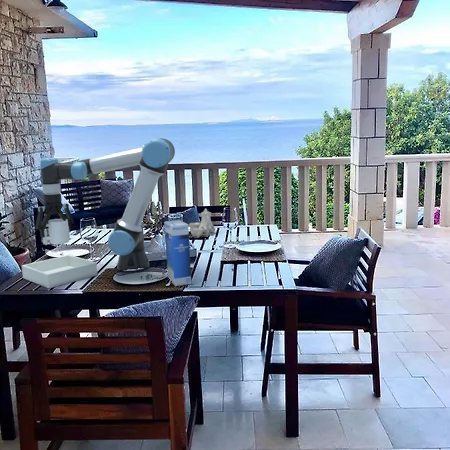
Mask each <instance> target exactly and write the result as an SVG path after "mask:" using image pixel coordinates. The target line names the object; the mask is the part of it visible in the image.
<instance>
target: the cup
mask: <svg viewBox="0 0 450 450" xmlns="http://www.w3.org/2000/svg"><path fill="white" fill-rule="evenodd" d="M67 219H68V218H67ZM67 219H66V221H64V220H62V219H61V218H54V219H49V220H48V222H47V225H46V227H45V228H47V227H48V232H49V233H48V234H49V235H48V236H47V241H49V243H50V244H51V245H64V244H67V243H70V240H69V234H70V233H69V231H68V220H67Z"/></svg>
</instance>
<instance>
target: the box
mask: <svg viewBox="0 0 450 450" xmlns="http://www.w3.org/2000/svg"><path fill="white" fill-rule="evenodd" d="M21 271H22V279H25V280H26V281H29V282H32V283H35V284H37V285H39V286H42V287H45V288H47V289H51V288H55V287H59V286H62V285H66V284H71V283H74V282H77V281H81V280H85V279H88V278H92V277H96V276H98V263H97V261H92V260H89V259H86V258H82V257H78V256H75V255H71V254H66V255H63V256H59V257H58V256H57V257H53V258H49V259H44V260H41V261H36V262H31V263H28V264H27V263H26V264H21Z"/></svg>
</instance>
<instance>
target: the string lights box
mask: <svg viewBox="0 0 450 450" xmlns="http://www.w3.org/2000/svg"><path fill="white" fill-rule="evenodd" d="M188 224H189V223H186V222H184V221H183V220H182V219H177V220H176V219H175V220H166V221H164V237H165V238H164V239H165V250H166V251H165V253H166V254H165V255H166V266H167V269H166V270H167V279H168V278H169V279H170V280H171V281H172V282H171V281H170V280H169V279H168V280H169V281H170V282H171V283H172V285H174V286H175V287H178V286H185V285H186V286H187V285H190V284H192V272H191V269H192V268H191V251H190V234H189V231H190V228H189V225H188Z"/></svg>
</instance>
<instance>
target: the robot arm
mask: <svg viewBox="0 0 450 450" xmlns="http://www.w3.org/2000/svg"><path fill="white" fill-rule="evenodd" d="M175 149H176V148H175V146H174V144H173V143H172V141H170V140H168V139H167V138H152V139H150V140H148V141H147V142H146V143H144V144H143V145H142V146H141V147H136V148H132V149H127V150H123V151H119V152H114V153H113V152H112V153H109V154H104V155H100V156H96V157H91V158H86V159H80V160H76V161H75V160H74V161H70V162H69V161H68V162H59V159H58V158H57V157H47V158H41V159H40V161H39V162H40V164H39V165H40V167H39V169H40V175H41V184H42V186H41V187H42V193H43V206H38V207H37V217H36V222H35V228H34V229H36V230H39V233H40V237H41V238H42V244H43V245H45V246H47V245H49V244H48V243H49V242H48V240H47V237H48V233H47V230H46V228H47V227H46V225H47V224H48V221H49V220H50V218H51V216H52V215H58V216H59V217H60V219H62V220H64V221H66V219H67V220H68V231H69V241H71V237H70V235H71V234H70V233H72V225H74V224H75V221H74V218H73V215H72V212H71V210H70V204H69V203H65V202H64V203H63V200H62V193H61V191H62V189H61V188H62V187H61V181H62V180H77V181H78V180H84V179H86V178H87V176H93V175H97V174H101V173H102V174H103V173H106V172H111V171H117V170H121V169H127V168H129V167H135V166H139V167H140V171H139V173H138V176H137V179H136V181H135V184H134V186H133V189H132V192H131V193H130V197H129V199H128V202H127V204H126V207H125V209H124V212H123V215H122V217H121V218H120V219H117V221H116V223H115V226H114V228H113V231H112V232H111V233H110V234H109V236H108V240H107V244H108V247H109V249H110V251H111V252H112V253H114V254H115V255H117V256H118V261H117V263H116V266H117V267H116V268H117V270H118V271H120V270H127V269H138V268H147V267H148V268H149V267H150V261H149V258H148V256H147V253H146V251H145V236H144V232H145V231H144V224H143V223H144V222H143V219H144V216H145V214H146V211H147V209H148V207H149V204H150V202H151V199H152V197H153V194H154V191H155V189H156V187H157V184H158V181H159V179H160V177H161V176H163V175H165V173H166V171H167V168H168V166H169V163H171V162H172V161H173V160H174V157H175V153H176V151H175ZM62 208H63V210H64V212H63V210H62ZM44 212H45V213H44ZM64 213H65V214H64ZM43 216H44V217H43ZM148 268H147V269H148Z"/></svg>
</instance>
